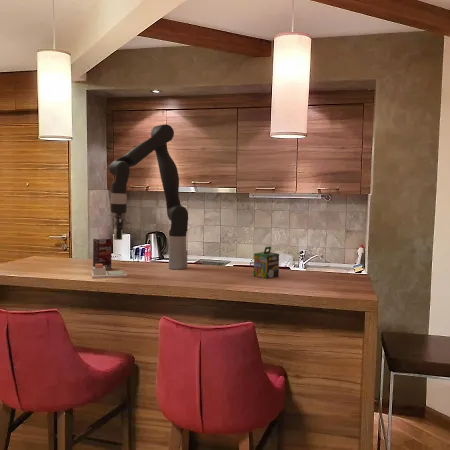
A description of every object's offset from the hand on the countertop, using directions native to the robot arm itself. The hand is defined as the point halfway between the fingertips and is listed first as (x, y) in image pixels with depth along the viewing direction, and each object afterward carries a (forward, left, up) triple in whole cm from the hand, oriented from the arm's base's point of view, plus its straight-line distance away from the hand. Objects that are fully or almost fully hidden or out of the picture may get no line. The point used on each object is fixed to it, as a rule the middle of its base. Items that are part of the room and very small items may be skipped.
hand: (118, 238), depth 234 cm
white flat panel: (+5, 0, -18) cm, 19 cm away
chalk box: (-68, +23, -18) cm, 74 cm away
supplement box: (+6, -19, -18) cm, 27 cm away
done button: (+9, 0, -15) cm, 17 cm away
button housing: (+9, 0, -18) cm, 20 cm away
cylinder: (0, 0, -1) cm, 1 cm away
